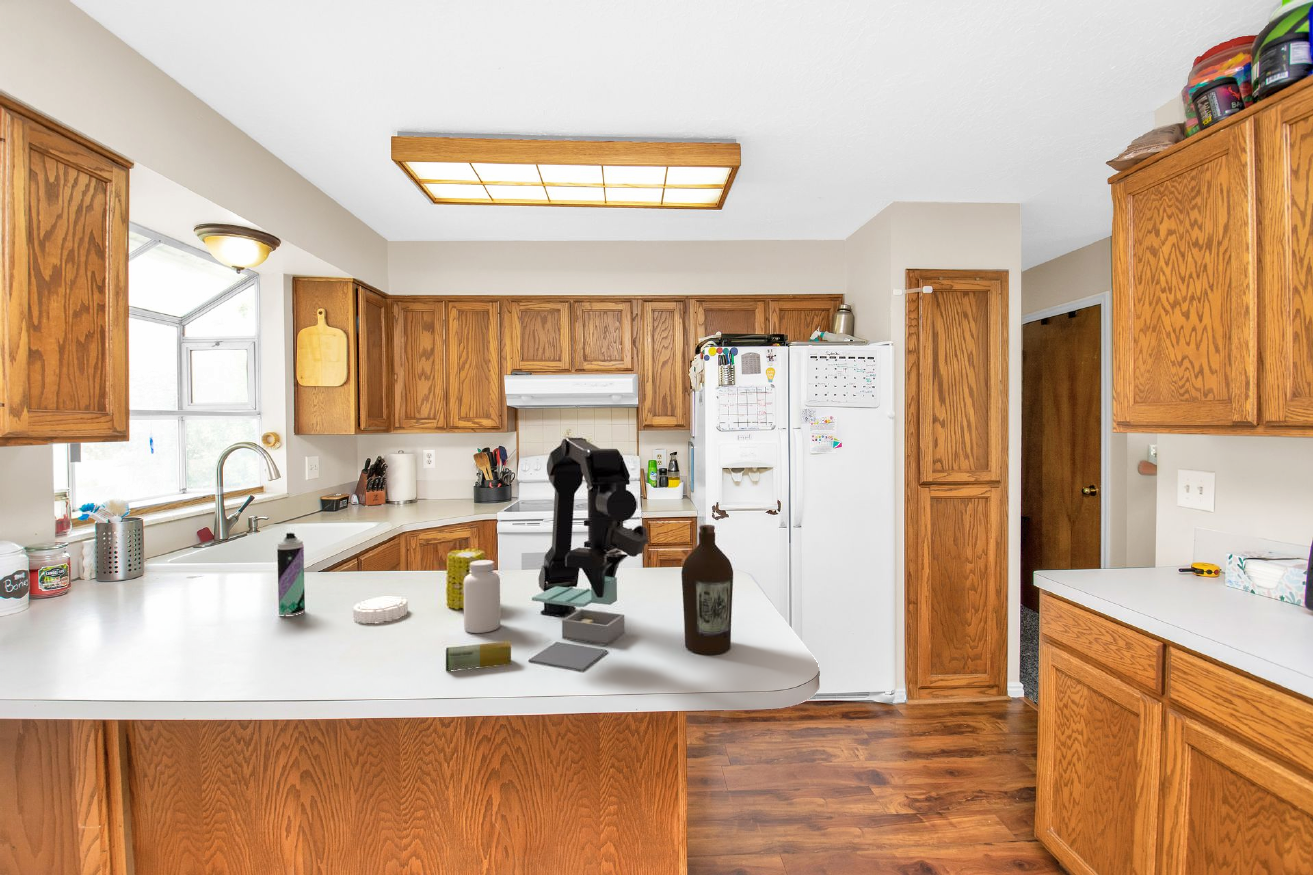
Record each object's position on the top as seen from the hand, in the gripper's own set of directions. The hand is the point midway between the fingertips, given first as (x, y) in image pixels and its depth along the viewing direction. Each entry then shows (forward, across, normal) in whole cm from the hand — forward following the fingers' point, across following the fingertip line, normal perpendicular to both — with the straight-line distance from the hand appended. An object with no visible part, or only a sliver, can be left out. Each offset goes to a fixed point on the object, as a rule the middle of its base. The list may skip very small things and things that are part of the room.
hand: (603, 594), depth 112 cm
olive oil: (+13, +15, -16) cm, 26 cm away
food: (+13, +19, +50) cm, 55 cm away
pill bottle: (+13, +7, +35) cm, 38 cm away
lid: (+2, 0, +6) cm, 6 cm away
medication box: (+14, -10, +22) cm, 28 cm away
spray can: (+13, -2, +86) cm, 87 cm away
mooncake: (+13, +5, +64) cm, 66 cm away
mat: (+13, 0, +8) cm, 15 cm away
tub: (+13, +12, +9) cm, 20 cm away
